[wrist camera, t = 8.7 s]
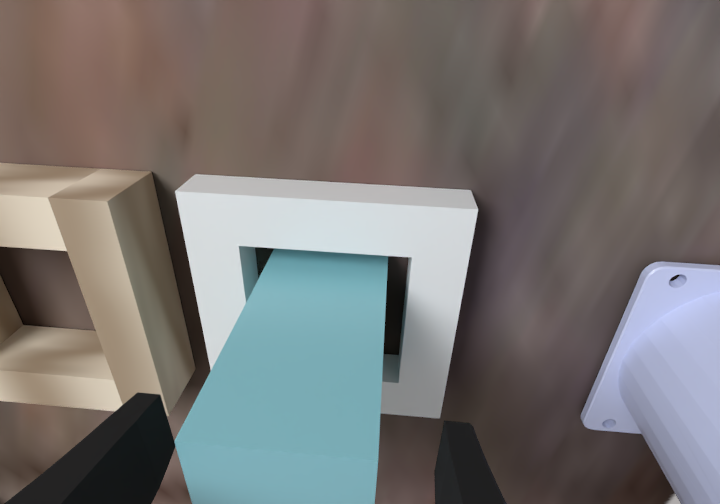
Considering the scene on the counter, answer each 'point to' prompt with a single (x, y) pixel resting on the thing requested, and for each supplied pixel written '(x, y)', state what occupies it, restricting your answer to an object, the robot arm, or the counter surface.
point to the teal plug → (294, 388)
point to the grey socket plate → (342, 235)
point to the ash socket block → (94, 290)
